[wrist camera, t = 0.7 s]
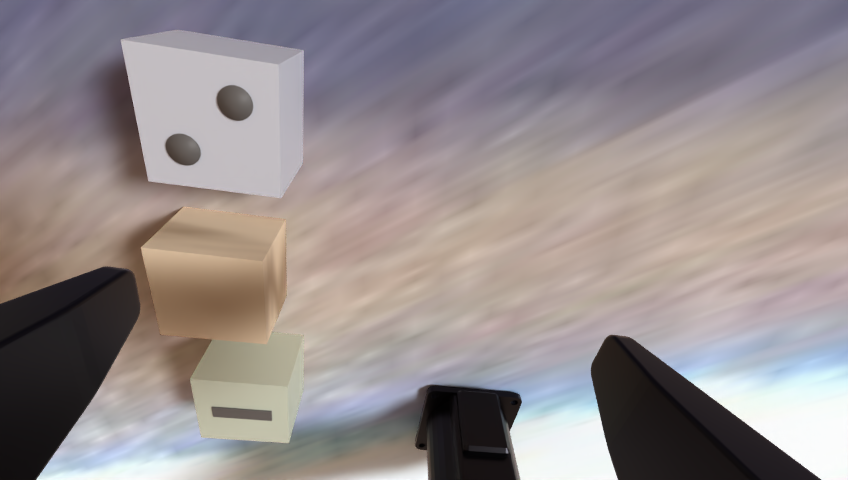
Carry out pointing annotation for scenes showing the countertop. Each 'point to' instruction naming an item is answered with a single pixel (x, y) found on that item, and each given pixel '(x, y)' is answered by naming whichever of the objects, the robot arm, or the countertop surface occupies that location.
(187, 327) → the birch block
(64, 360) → the robot arm
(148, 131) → the white die
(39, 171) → the countertop surface
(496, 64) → the countertop surface
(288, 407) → the sage block one
